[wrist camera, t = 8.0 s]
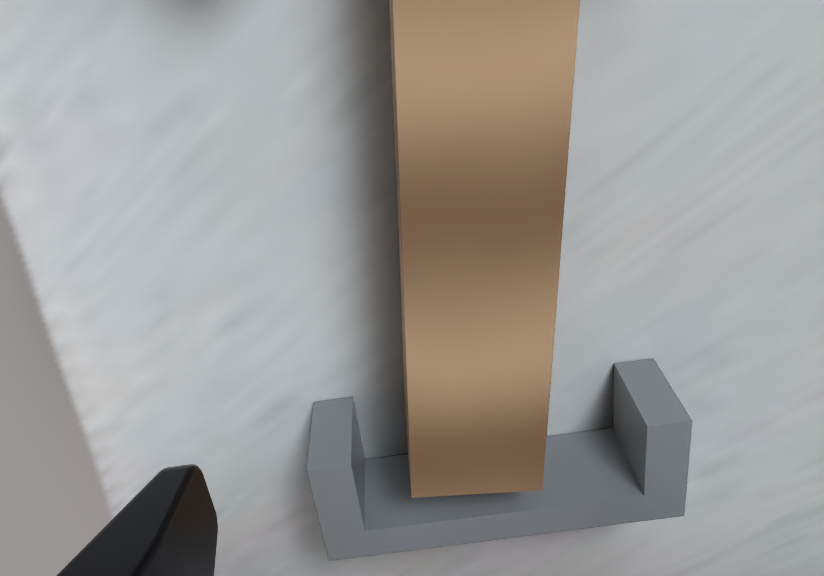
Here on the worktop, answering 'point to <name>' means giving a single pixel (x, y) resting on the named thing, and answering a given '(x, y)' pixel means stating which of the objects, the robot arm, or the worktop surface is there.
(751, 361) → the worktop surface
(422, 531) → the end cap
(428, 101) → the slat
